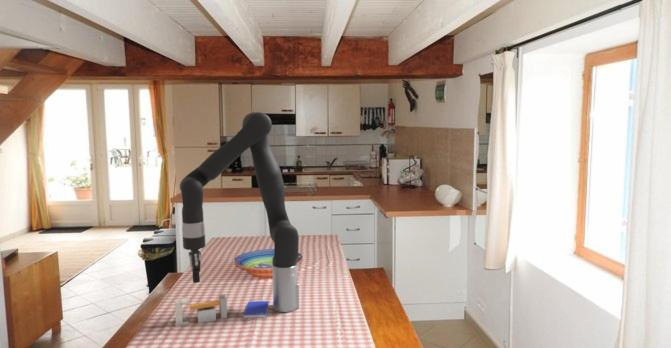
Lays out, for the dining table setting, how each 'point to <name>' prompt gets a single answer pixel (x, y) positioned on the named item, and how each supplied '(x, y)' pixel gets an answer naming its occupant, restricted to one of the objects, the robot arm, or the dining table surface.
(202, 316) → the heatsink
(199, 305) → the orange bar
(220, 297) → the board
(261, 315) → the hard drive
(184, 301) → the block
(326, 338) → the dining table surface
